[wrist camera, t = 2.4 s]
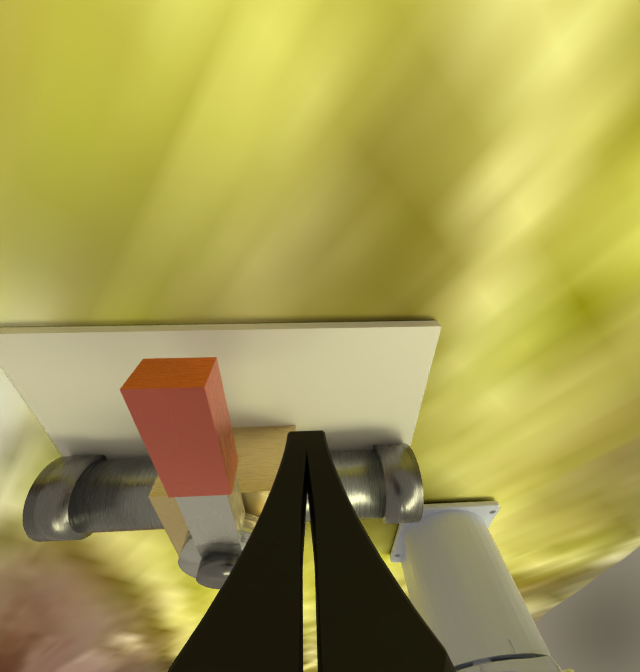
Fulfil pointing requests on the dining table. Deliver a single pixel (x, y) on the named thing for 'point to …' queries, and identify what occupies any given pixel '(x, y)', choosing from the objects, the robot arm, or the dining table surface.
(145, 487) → the valve body
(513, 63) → the dining table surface
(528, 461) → the dining table surface
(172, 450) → the lever
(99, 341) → the mounting board
